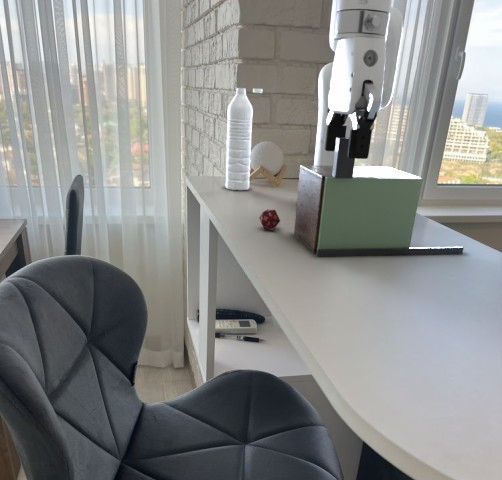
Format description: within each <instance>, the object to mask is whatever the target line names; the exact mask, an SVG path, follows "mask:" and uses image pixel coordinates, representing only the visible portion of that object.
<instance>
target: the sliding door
mask: <svg viewBox="0 0 502 480" xmlns="http://www.w3.org/2000/svg"><path fill="white" fill-rule="evenodd" d="M348 145H349V138H341V137H337V138H336V145H335V154H334V162H333V171H332V177H325V183H324V192H323V201H322V210H321V219H320V228H319V237H318V246H317V249H355V248H411V241H412V235H413V231H414V226H415V221H416V216H417V211H418V205H419V201H420V195H421V190H422V185H423V181H424V180H423V178H422V177H420V178H381V177H353V170H354V166H355V162H356V159H353V158H348V157H347V152H348Z"/></svg>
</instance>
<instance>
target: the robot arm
mask: <svg viewBox="0 0 502 480" xmlns="http://www.w3.org/2000/svg"><path fill="white" fill-rule="evenodd" d="M392 1H393V0H332V5H331V14H330V25H329V47H330V49H331V50H332V52H334V58H333V61H331V62H329V63H327V64H325V65H324V66H323V67H322V68H321V70H320V71H319V75H318V81H317V83H318V84H317V88H318V89H317V93H318V114H317V115H318V116H317V126H316V139H315V148H314V149H315V150H314V157H313V158H314V159H313V165H316V166H333V162H334V154H335V145H336V138H337V137H341V138H349V145H348V152H347V157H348V158H353V159H355V160H356V159H357V160H367V159H368V158H369V154H370V147H371V142H372V141H371V140H372V135H373V134H372V133H373V130H374V128H375V122H376V119H377V117H378V114H379V112H380V111H381V109H385V108H387V106H389V105H390V103H391V101H392V98H393V94H394V89H395V84H396V77H397V70H398V64H399V59H400V52H401V46H402V41H403V40H402V39H403V33H404V19H403V15H402V12H401V11H400V10H399V9H398V8H396V7H392Z"/></svg>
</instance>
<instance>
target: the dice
mask: <svg viewBox="0 0 502 480" xmlns="http://www.w3.org/2000/svg"><path fill="white" fill-rule="evenodd" d="M259 221H260V223H261V225H262V227H263V229H265V230H273V229H275V228H277V226H278V225H279V223H280V222H281V219H280V217H279V214H278V213H277V210H276V209H266V210H263V212H262V213H261V215H260V216H259Z"/></svg>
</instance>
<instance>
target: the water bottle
mask: <svg viewBox="0 0 502 480" xmlns="http://www.w3.org/2000/svg"><path fill="white" fill-rule="evenodd" d="M263 89H264V88H255V87H254V88H252V93H255V94H263V91H264V90H263ZM246 90H247V89H246V88H245V87H236V91H235V95H234V96H233V98H232V100H231V101H230V103H229V104H228V107H227V133H226V138H227V139H226V157H225V160H226V161H225V162H226V163H225V169H226V171H225V177H226V178H225V188H226V189H228V190H232V191H248V190H249V189H250V178H251V177H250V176H251V173H250V171H251V155H252V150H251V149H252V131H253V130H252V129H253V114H254V110H253V109H254V108H253V105H252V104H251V102H250V100H249V98H248V96H247V91H246Z"/></svg>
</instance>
